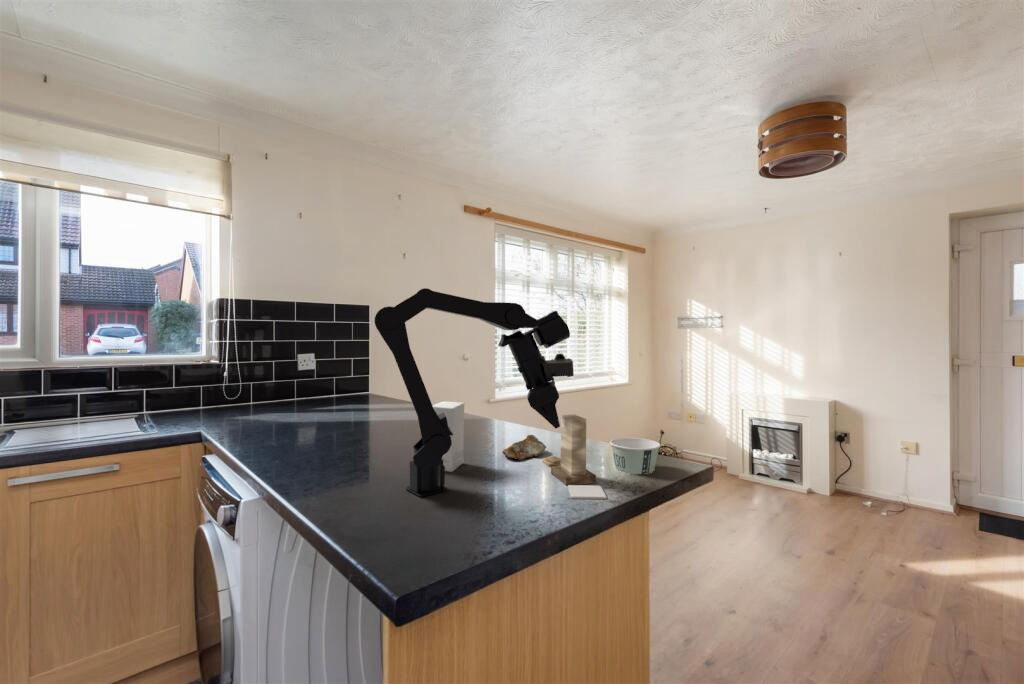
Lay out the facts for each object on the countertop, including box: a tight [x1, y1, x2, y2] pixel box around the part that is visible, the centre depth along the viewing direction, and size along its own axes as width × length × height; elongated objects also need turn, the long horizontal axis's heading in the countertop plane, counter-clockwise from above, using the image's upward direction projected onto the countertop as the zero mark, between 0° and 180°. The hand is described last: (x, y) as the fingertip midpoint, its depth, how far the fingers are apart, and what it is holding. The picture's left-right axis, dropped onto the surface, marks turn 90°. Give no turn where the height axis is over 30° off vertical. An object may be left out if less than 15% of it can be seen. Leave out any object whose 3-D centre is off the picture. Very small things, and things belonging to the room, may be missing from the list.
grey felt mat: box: [567, 484, 607, 500], centre depth 97 cm, size 7×7×1 cm
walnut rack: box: [550, 466, 597, 486], centre depth 107 cm, size 7×9×2 cm
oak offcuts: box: [542, 455, 561, 468], centre depth 118 cm, size 4×5×1 cm
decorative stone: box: [501, 434, 547, 461], centre depth 126 cm, size 10×4×15 cm
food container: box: [609, 437, 662, 475], centre depth 114 cm, size 12×12×6 cm
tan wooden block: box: [560, 413, 587, 476], centre depth 106 cm, size 4×6×14 cm, turn 16°
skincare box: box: [432, 401, 465, 473], centre depth 115 cm, size 8×7×16 cm
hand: (556, 421), depth 103 cm, fingers open, 9 cm apart
